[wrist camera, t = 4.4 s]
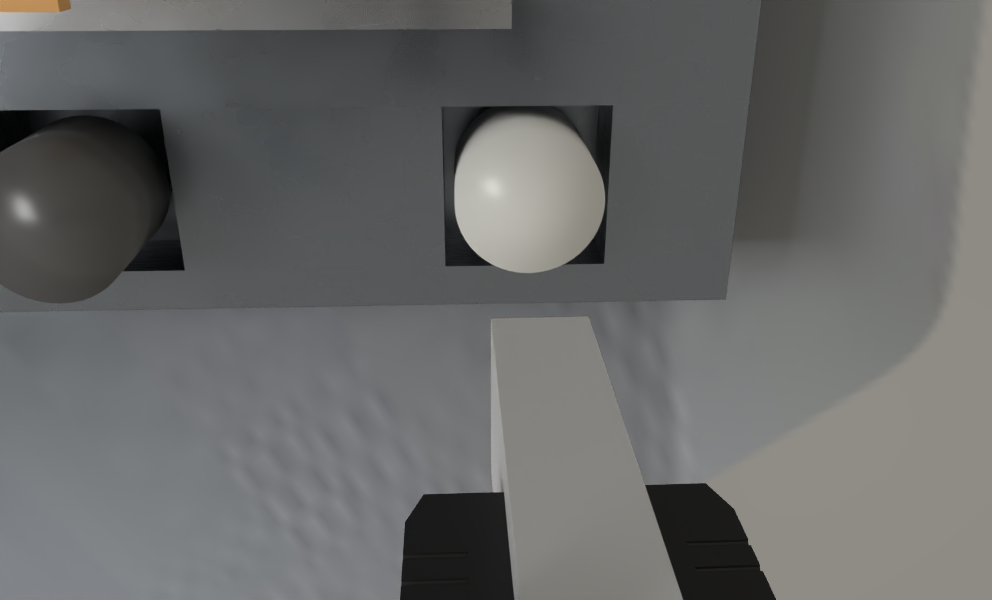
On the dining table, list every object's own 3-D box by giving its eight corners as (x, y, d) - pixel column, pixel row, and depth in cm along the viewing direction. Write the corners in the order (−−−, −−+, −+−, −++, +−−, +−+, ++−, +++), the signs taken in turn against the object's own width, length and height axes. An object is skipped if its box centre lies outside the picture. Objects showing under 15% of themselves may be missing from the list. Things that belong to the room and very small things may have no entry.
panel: (-27, 255, 30) (-120, 326, 25) (-154, -233, 24) (-308, -265, 19) (689, 244, 31) (733, 311, 26) (735, -227, 25) (803, -256, 20)
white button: (455, 230, 28) (455, 274, 24) (453, 100, 26) (453, 129, 23) (584, 228, 28) (601, 272, 25) (589, 99, 26) (609, 128, 23)
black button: (38, 253, 26) (-20, 305, 22) (7, 115, 24) (-61, 149, 21) (179, 252, 26) (141, 301, 23) (158, 114, 24) (113, 148, 21)
